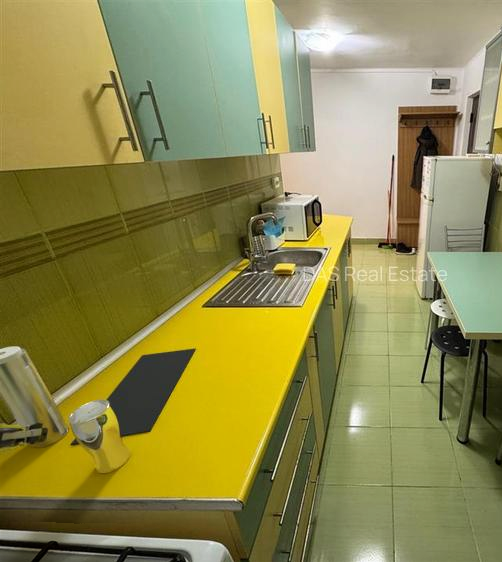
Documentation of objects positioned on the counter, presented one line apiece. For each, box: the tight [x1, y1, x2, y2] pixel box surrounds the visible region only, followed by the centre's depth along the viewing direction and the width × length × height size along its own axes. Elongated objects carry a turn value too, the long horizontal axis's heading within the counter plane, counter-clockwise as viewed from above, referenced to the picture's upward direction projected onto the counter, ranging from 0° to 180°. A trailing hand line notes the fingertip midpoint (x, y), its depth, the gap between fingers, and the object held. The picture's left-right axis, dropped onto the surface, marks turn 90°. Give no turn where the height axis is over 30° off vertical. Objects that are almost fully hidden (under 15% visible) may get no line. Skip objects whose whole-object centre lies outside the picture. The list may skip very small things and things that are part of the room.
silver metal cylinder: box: [0, 346, 70, 449], centre depth 70 cm, size 6×6×25 cm
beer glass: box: [67, 399, 131, 474], centre depth 66 cm, size 7×7×15 cm
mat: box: [70, 347, 197, 446], centre depth 90 cm, size 17×36×1 cm, turn 13°
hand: (41, 435), depth 52 cm, fingers closed
